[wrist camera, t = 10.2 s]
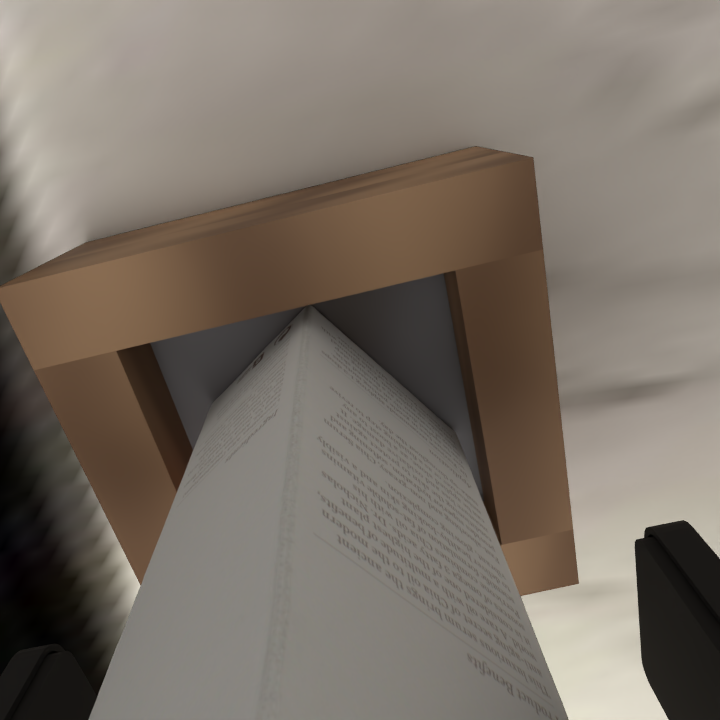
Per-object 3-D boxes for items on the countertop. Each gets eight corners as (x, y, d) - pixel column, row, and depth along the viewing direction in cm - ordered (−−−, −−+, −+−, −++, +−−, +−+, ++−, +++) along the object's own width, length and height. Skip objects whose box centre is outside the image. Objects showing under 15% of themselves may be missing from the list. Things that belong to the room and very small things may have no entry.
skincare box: (206, 404, 16) (-55, 1013, 5) (309, 297, 15) (255, 774, 4) (362, 523, 18) (412, 1158, 7) (463, 434, 17) (710, 1018, 6)
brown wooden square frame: (475, 146, 17) (533, 157, 12) (523, 480, 22) (578, 583, 17) (85, 242, 18) (-7, 289, 13) (213, 548, 22) (181, 667, 17)
